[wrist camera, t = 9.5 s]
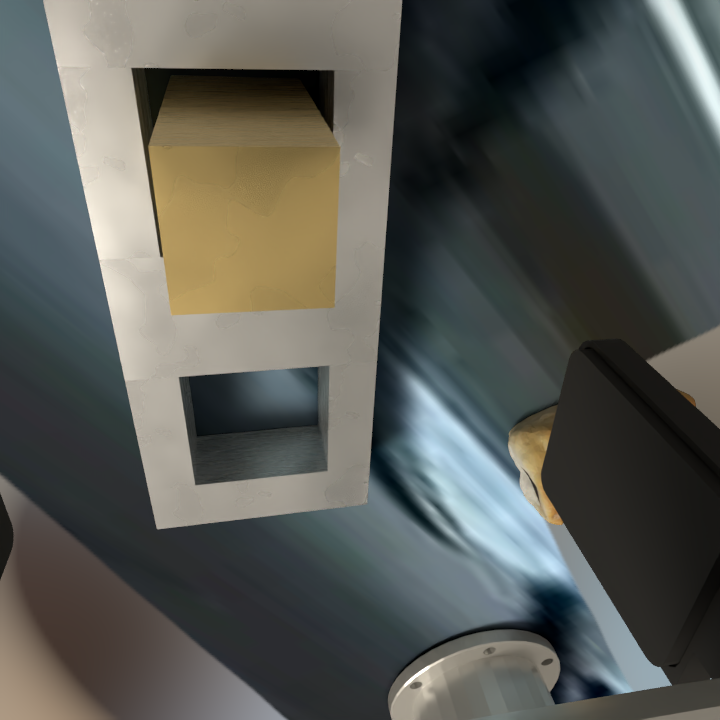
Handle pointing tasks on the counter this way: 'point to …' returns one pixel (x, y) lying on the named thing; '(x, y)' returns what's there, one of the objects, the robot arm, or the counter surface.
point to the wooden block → (245, 195)
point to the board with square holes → (237, 329)
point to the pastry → (537, 458)
